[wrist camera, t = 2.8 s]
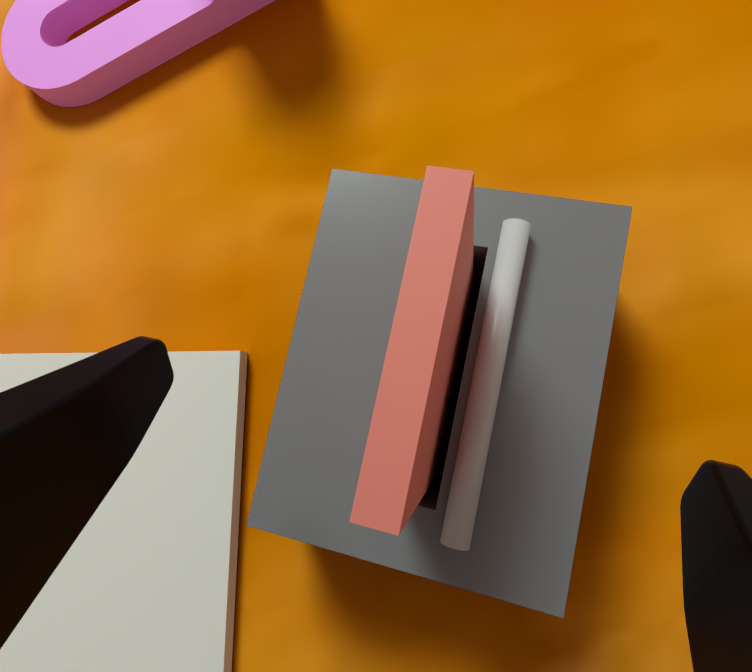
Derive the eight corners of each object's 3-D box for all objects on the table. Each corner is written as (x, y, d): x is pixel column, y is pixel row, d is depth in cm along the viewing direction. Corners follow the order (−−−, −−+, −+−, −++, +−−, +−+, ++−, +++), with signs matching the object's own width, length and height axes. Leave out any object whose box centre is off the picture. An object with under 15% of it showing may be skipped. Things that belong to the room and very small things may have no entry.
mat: (225, 790, 16) (216, 804, 16) (-85, 743, 18) (-103, 753, 18) (247, 352, 18) (240, 350, 18) (-33, 356, 21) (-47, 354, 20)
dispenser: (540, 568, 16) (569, 630, 11) (296, 501, 17) (234, 531, 13) (594, 255, 17) (641, 195, 12) (361, 221, 18) (325, 156, 14)
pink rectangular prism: (437, 473, 17) (398, 535, 8) (413, 467, 17) (349, 522, 8) (473, 295, 17) (473, 170, 9) (449, 291, 17) (427, 165, 9)
